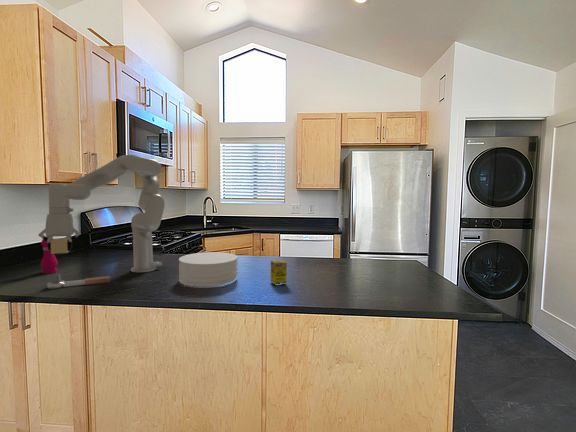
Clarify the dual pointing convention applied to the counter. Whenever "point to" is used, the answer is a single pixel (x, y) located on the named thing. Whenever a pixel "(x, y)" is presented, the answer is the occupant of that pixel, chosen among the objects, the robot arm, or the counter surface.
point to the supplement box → (278, 271)
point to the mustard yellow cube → (59, 245)
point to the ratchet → (75, 281)
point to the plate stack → (207, 268)
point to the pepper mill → (48, 259)
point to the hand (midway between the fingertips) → (60, 250)
